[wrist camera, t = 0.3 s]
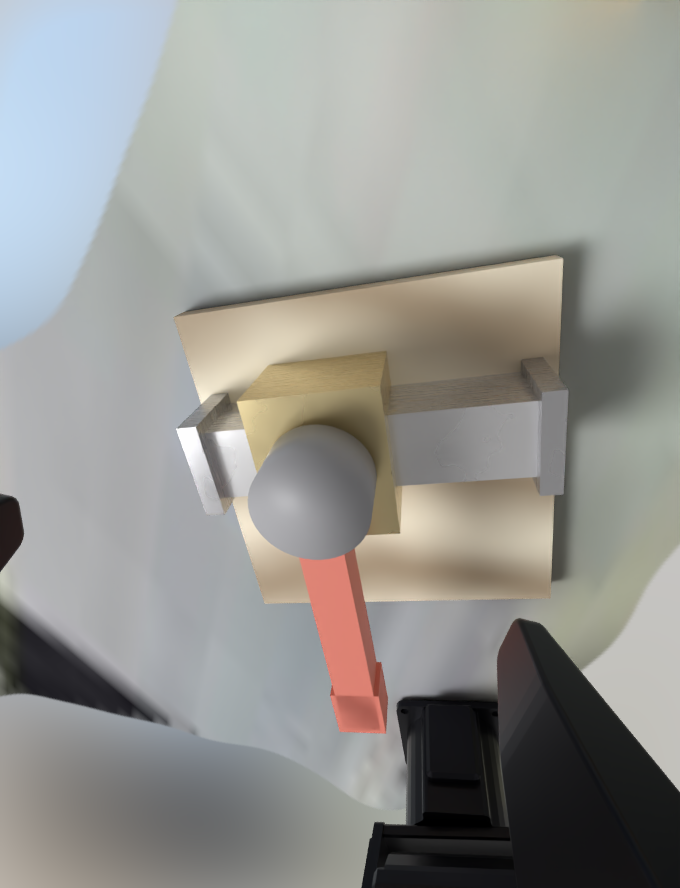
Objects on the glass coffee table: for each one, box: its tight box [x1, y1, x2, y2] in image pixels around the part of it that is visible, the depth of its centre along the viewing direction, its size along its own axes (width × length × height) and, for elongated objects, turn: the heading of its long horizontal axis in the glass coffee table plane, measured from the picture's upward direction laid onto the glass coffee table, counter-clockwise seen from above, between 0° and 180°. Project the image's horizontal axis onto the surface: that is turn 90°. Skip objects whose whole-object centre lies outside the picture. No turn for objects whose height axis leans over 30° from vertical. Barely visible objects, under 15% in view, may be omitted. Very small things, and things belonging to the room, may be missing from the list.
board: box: [174, 255, 563, 604], centre depth 22 cm, size 16×15×1 cm
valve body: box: [176, 351, 569, 535], centre depth 19 cm, size 6×14×4 cm, turn 98°
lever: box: [248, 424, 388, 733], centre depth 18 cm, size 14×4×2 cm, turn 8°
